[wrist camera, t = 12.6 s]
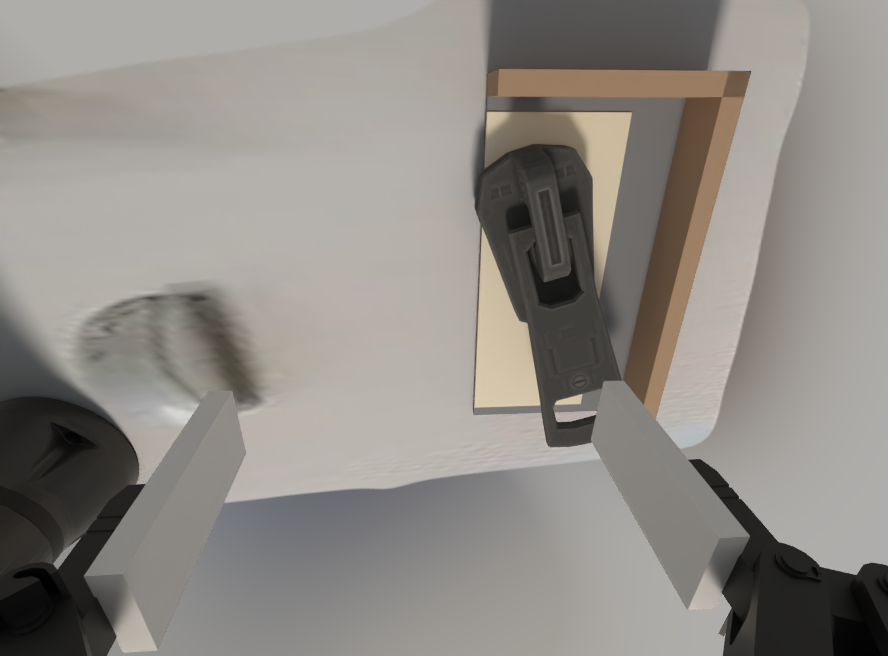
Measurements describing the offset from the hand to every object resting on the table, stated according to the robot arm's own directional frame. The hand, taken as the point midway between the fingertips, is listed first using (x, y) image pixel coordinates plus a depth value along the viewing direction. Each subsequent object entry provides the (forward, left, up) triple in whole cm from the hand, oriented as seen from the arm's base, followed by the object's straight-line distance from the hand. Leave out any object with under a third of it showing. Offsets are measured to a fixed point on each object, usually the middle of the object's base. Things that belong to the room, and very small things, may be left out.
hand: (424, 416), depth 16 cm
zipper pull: (+11, -5, -24) cm, 27 cm away
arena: (+13, -4, -24) cm, 28 cm away
